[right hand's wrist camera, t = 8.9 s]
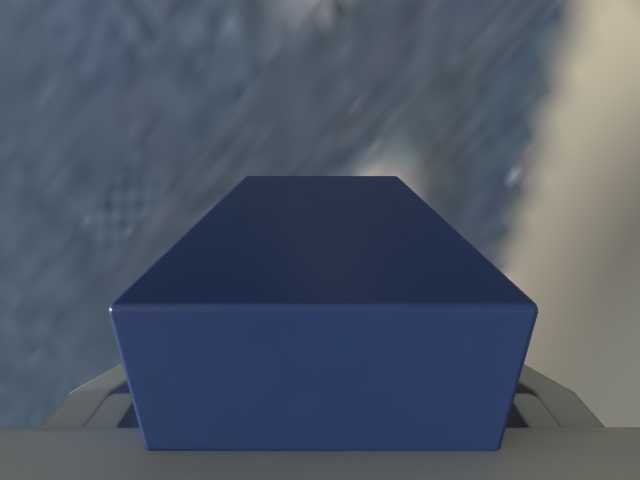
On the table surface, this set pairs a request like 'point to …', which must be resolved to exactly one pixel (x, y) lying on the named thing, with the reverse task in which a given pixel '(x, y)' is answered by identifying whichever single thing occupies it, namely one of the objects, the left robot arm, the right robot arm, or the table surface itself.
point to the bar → (322, 326)
